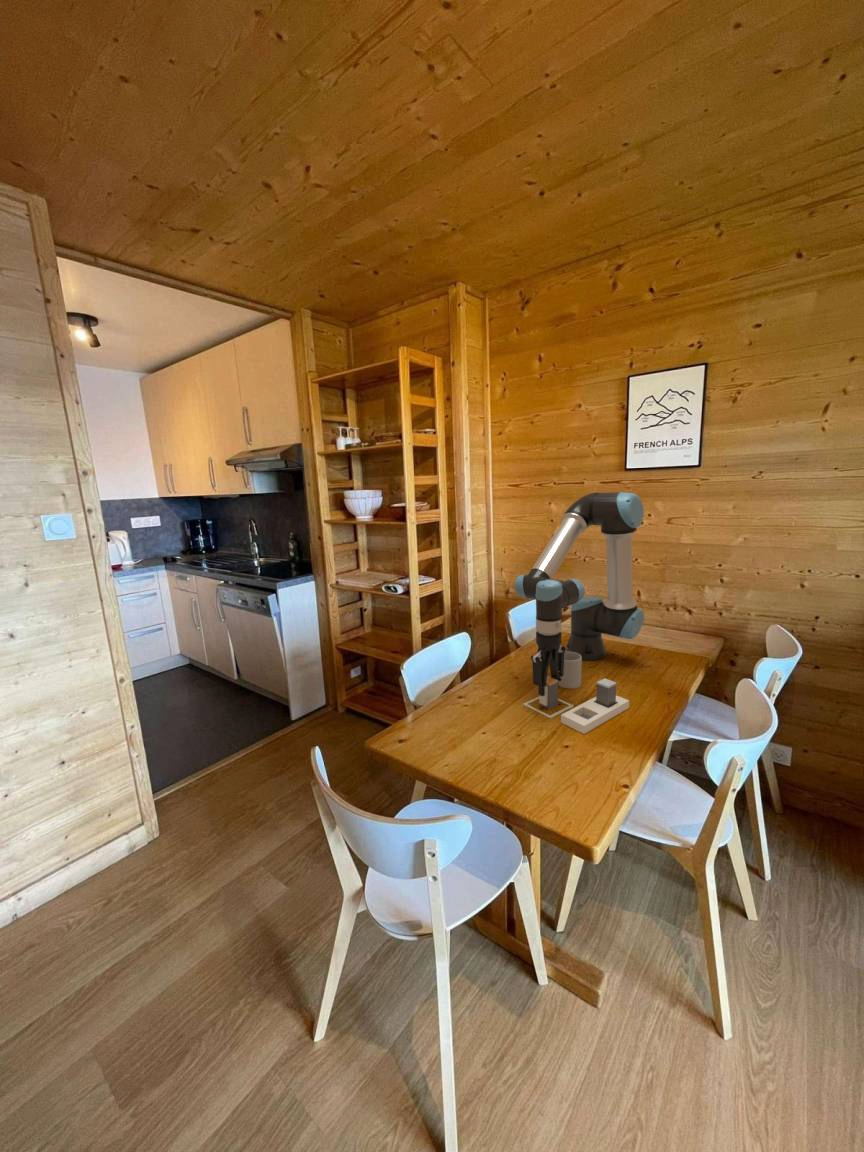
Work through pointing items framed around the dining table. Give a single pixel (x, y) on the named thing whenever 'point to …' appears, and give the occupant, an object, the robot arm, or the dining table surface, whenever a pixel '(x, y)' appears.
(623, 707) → the strip
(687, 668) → the dining table surface
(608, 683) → the grey square peg
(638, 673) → the dining table surface
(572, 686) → the mug
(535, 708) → the tray
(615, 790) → the dining table surface
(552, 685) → the plug
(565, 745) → the dining table surface
